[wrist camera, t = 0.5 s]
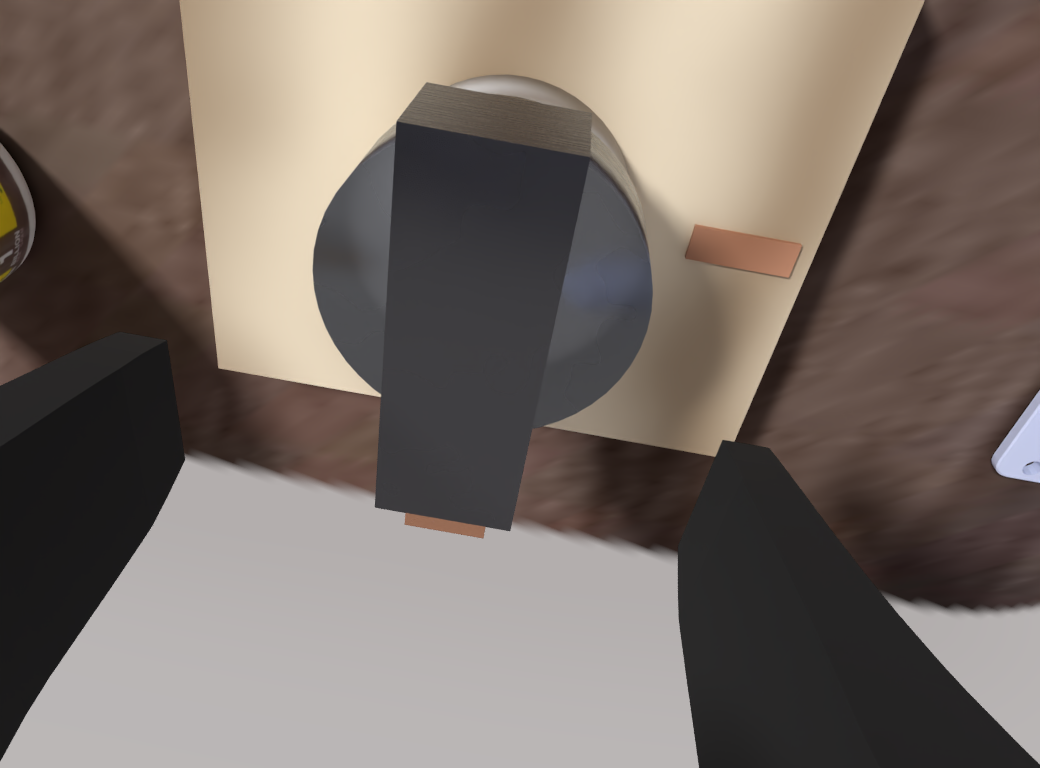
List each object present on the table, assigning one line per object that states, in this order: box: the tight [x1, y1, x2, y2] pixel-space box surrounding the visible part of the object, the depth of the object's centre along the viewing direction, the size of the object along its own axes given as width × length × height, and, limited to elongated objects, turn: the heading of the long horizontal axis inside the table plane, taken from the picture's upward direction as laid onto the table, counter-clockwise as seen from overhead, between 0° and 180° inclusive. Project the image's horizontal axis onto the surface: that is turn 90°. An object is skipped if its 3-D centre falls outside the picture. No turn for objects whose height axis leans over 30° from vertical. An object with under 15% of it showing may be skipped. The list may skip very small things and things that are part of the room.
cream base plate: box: [180, 0, 925, 457], centre depth 17 cm, size 14×12×4 cm
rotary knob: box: [312, 82, 653, 538], centre depth 13 cm, size 6×8×4 cm
